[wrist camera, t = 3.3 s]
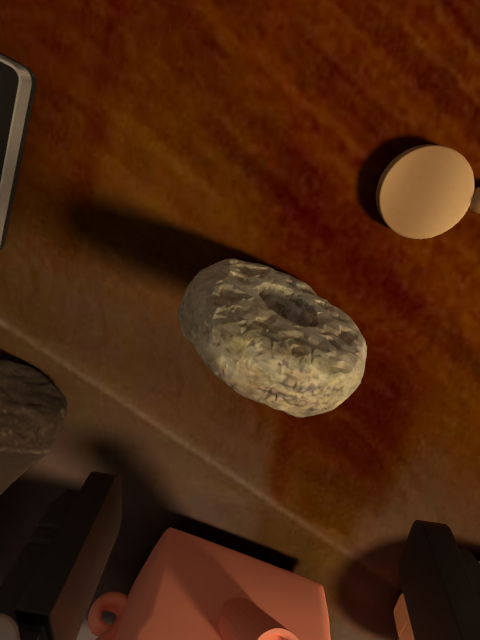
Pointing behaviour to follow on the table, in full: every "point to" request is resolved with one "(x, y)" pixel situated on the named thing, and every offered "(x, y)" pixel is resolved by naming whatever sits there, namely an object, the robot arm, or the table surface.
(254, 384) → the stone ring
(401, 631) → the bowl
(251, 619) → the teapot
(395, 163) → the spoon
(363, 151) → the table surface
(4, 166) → the external hard drive
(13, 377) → the dark brown bone
